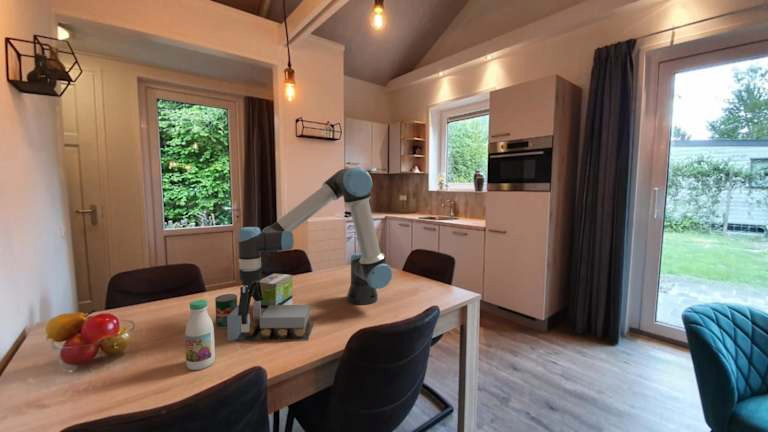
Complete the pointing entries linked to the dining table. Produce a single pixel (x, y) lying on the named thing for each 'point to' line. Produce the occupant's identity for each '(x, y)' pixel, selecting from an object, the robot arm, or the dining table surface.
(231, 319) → the block
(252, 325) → the roller
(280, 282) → the tea box
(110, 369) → the dining table surface
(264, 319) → the slab
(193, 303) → the milk bottle
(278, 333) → the roller bed
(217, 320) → the canned tomato
